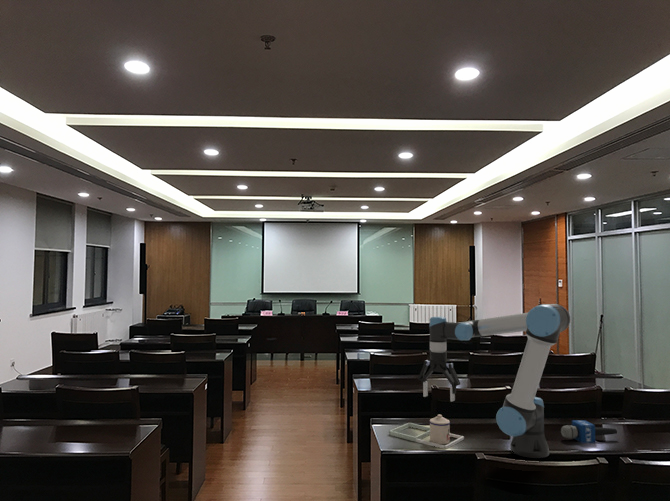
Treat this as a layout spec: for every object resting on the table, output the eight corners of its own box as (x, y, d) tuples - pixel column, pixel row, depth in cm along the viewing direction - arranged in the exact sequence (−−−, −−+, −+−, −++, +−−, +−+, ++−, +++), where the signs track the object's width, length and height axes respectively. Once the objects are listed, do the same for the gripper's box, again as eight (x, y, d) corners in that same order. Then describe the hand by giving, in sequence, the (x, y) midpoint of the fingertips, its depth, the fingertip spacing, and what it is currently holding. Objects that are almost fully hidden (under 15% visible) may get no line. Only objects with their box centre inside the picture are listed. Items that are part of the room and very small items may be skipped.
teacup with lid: (451, 445, 212) (451, 418, 213) (430, 444, 213) (430, 417, 213) (447, 436, 224) (447, 410, 225) (427, 435, 225) (427, 410, 225)
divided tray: (464, 439, 220) (464, 435, 220) (445, 449, 207) (445, 445, 207) (409, 426, 239) (409, 422, 239) (389, 434, 226) (389, 430, 226)
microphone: (620, 424, 217) (566, 425, 216) (621, 442, 217) (567, 443, 215) (609, 419, 225) (557, 420, 224) (610, 436, 225) (558, 437, 223)
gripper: (467, 352, 216) (468, 401, 214) (418, 347, 232) (419, 392, 230) (459, 354, 210) (460, 404, 209) (410, 349, 226) (410, 395, 225)
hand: (438, 398), depth 219 cm, fingers open, 13 cm apart
